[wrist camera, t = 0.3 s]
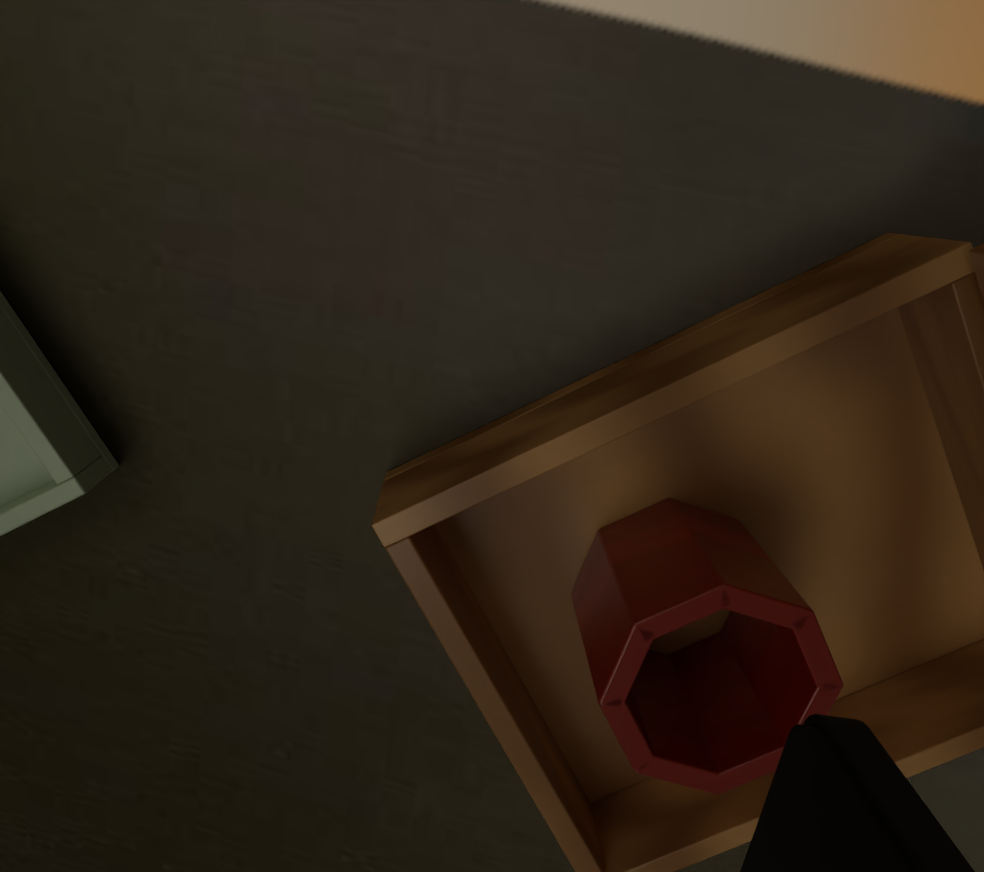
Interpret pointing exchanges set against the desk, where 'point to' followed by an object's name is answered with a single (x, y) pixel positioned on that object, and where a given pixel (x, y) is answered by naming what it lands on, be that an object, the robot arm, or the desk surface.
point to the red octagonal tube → (698, 647)
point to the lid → (978, 265)
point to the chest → (738, 494)
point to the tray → (40, 432)
